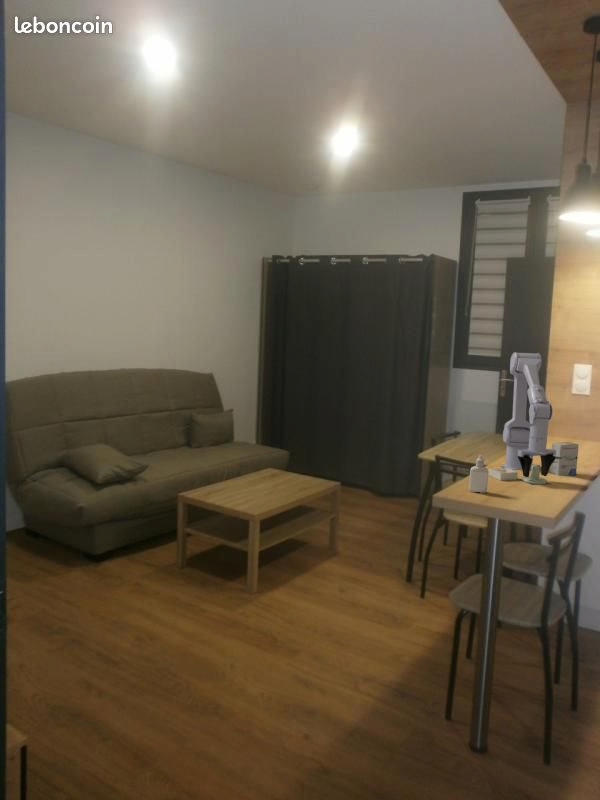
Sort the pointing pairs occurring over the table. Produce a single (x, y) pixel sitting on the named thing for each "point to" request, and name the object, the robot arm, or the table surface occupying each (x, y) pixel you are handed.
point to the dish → (503, 474)
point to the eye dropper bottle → (478, 477)
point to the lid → (534, 476)
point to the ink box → (564, 458)
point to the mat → (535, 484)
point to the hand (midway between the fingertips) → (534, 476)
